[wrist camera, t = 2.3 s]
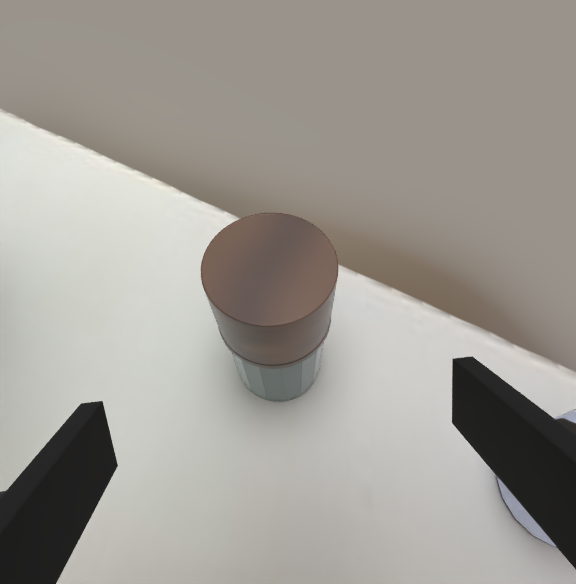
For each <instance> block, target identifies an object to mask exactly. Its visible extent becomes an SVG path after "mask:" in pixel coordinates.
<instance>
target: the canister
mask: <svg viewBox="0 0 576 584" xmlns="http://www.w3.org/2000/svg"><path fill="white" fill-rule="evenodd" d="M323 344H324V342H323ZM323 344H322V345H321V347H320V348H319V349H318V350H317V351H316V352H315V353H314V354H313V355H312V356H311V357H309V358H308V359H306V360H305V361H303V362H301V363H299V364H296V365H294V366H291V367H287V368H281V369H265V368H259V367H255V366H253V365H250V364H247V363H246V362H244V361H242V360H240V359H239V358H238V357H236V356H235V355H234V354H233V353H232V355H233V357H234V360H235V363H236V366H237V368H238V371H239V374H240V377H241V379H242V381H243V382H244V384H245V385H246V386H247V388H248V389H249V390H250V391H251V392H253V393H254V394H255V395H257V396H259V397H261V398H263V399H266V400H270V401H287V400H291V399H294V398H296V397H298V396H300V395H302V394H303V393H304V392H306V391H307V390H308V389H309V388H310V387H311V385H312V384H313V383H314V381H315V379H316V377H317V374H318V371H319V369H320V363H321V357H322V350H323Z"/></svg>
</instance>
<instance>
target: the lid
mask: <svg viewBox="0 0 576 584" xmlns="http://www.w3.org/2000/svg"><path fill="white" fill-rule="evenodd" d="M337 277H338V260H337V255H336V252H335V250H334V247H333V245H332V244H331V242H330V240H329V239H328V238H327V237H326V235H325V234H324V233H323V232H322V231H321V230H320V229H319V228H317V227H316V226H314V225H313V224H311V223H309V222H308V221H306V220H304V219H301V218H299V217H296V216H293V215H288V214H283V213H261V214H255V215H251V216H248V217H245V218H242V219H239V220H237V221H235V222H233V223H231V224H230V225H228V226H227V227H225V228H224V229H223V230H221V231H220V232H219V233H218V234H217V235H216V236H215V237H214V239H213V240H212V241H211V242H210V244H209V246H208V247H207V249H206V251H205V253H204V256H203V260H202V264H201V280H202V285H203V288H204V290H205V293H206V296H207V298H208V301H209V303H210V306H211V309H212V311H213V314H214V316H215V319H216V322H217V324H218V328H219V331H220V334H221V336H222V339H223V341H224V343H225V344H226V346H227V347H228V349H229V350H230V351H231V352H232V353H233V354H234V355H235V356H236V357H238V358H239V359H240V360H242V361H244V362H246V363H247V364H250V365H253V366H255V367H259V368H265V369H281V368H287V367H291V366H294V365H296V364H299V363H301V362H303V361H305V360H306V359H308V358H309V357H311V356H312V355H313V354H314V353H315V352H316V351H317V350H318V349H319V348H320V347H321V345H322V344H323V342H324V340H325V339H326V337H327V334H328V332H329V327H330V323H331V313H332V307H333V301H334V295H335V289H336V283H337Z"/></svg>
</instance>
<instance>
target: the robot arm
mask: <svg viewBox="0 0 576 584" xmlns="http://www.w3.org/2000/svg"><path fill="white" fill-rule="evenodd" d="M452 423H453V425H454V426H455V427H456V428H457V429H458V430H459V432H460V433H461V434H462V435H463V436H464V438H465V439H466V440H467V441H468V442H469V443H470V445H471V446H472V447H473V448H474V449H475V451H476V452H477V453H478V454H479V455H480V456H481V458H482V459H483V460H484V461H485V462H486V464H487V465H488V466H489V467H490V468H491V470H492V471H493V472H494V473H495V474H496V475H497V477H498V478H499V479H500V480H501V481H502V483H503V484H504V485H505V486H506V487H507V488H508V490H509V491H510V492H511V493H512V494H513V496H514V497H515V498H516V499H517V500H518V501H519V503H520V504H521V505H522V506H523V507H524V509H525V510H526V511H527V512H528V513H529V514H530V516H531V517H532V518H533V519H534V520H535V522H536V523H537V524H538V525H539V526H540V527H541V529H542V530H543V531H544V532H545V533H546V535H547V536H548V537H549V538H550V539H551V541H552V542H553V543H554V544H555V545H556V546H557V548H558V549H559V550H560V551H561V552H562V554H563V555H564V556H565V557H566V558H567V559H568V561H569V562H570V563H571V564H572V565H573V567H574V568H575V569H576V423H574V422H571V421H569V420H567V419H565V418H559V419H554V418H553V417H551V416H550V415H549V414H547V413H546V412H545V411H543V410H542V409H541V408H539V407H538V406H537V405H535V404H534V403H533V402H531V401H530V400H529V399H528V398H526V397H525V396H524V395H522V394H521V393H520V392H518V391H517V390H516V389H514V388H513V387H512V386H510V385H509V384H508V383H506V382H505V381H504V380H502V379H501V378H500V377H499V376H497V375H496V374H495V373H493V372H492V371H491V370H489V369H488V368H487V367H485V366H484V365H483V364H481V363H480V362H479V361H477V360H476V359H475V358H474V357H464V358H456V359H453V377H452ZM117 466H118V465H117V461H116V457H115V452H114V448H113V444H112V440H111V435H110V431H109V427H108V423H107V418H106V414H105V410H104V406H103V401H99V402H91V403H82V404H80V406H79V407H78V408H77V409H76V410H75V411H74V413H73V414H72V415H71V416H70V417H69V418H68V420H67V421H66V422H65V423H64V424H63V425H62V427H61V428H60V429H59V430H58V431H57V432H56V434H55V435H54V436H53V437H52V438H51V439H50V441H49V442H48V443H47V444H46V445H45V446H44V448H43V449H42V450H41V451H40V452H39V453H38V455H37V456H36V457H35V458H34V459H33V460H32V462H31V463H30V464H29V465H28V466H27V467H26V469H25V470H24V471H23V472H22V473H21V474H20V476H19V477H18V478H17V479H16V480H15V481H14V483H13V484H12V485H11V486H10V487H9V489H8V490H7V491H3V492H0V584H56V582H57V581H58V579H59V577H60V575H61V573H62V571H63V569H64V567H65V565H66V563H67V561H68V560H69V558H70V556H71V554H72V552H73V550H74V548H75V546H76V544H77V542H78V540H79V539H80V537H81V535H82V533H83V531H84V529H85V527H86V525H87V523H88V521H89V519H90V518H91V516H92V514H93V512H94V510H95V508H96V506H97V504H98V502H99V500H100V498H101V497H102V495H103V493H104V491H105V489H106V487H107V485H108V483H109V481H110V479H111V477H112V476H113V474H114V472H115V470H116V468H117Z"/></svg>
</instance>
